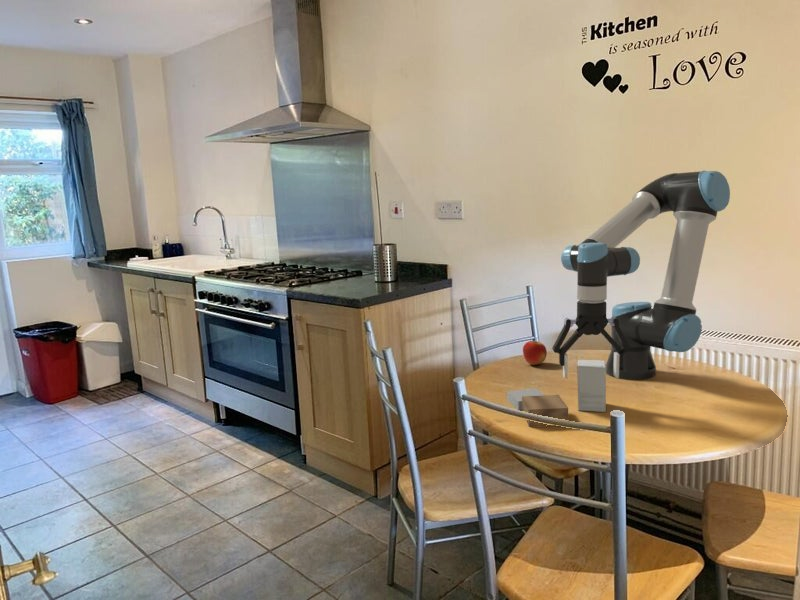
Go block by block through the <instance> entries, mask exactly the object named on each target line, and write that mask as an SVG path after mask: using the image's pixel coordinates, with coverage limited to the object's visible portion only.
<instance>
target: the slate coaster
mask: <svg viewBox="0 0 800 600" xmlns="http://www.w3.org/2000/svg"><path fill="white" fill-rule="evenodd" d="M542 395H545V394H544V393H543V392H542V391H541V390H539V389H538V388H537V387H533V388H524V389H516V390H514V389H513V390H507V391H506V396H507V397H506V401H507V402H509V403H510V404H511V405H512V406H513V407H514V408H515V409H517V410H518V411H522V396H542Z"/></svg>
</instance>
